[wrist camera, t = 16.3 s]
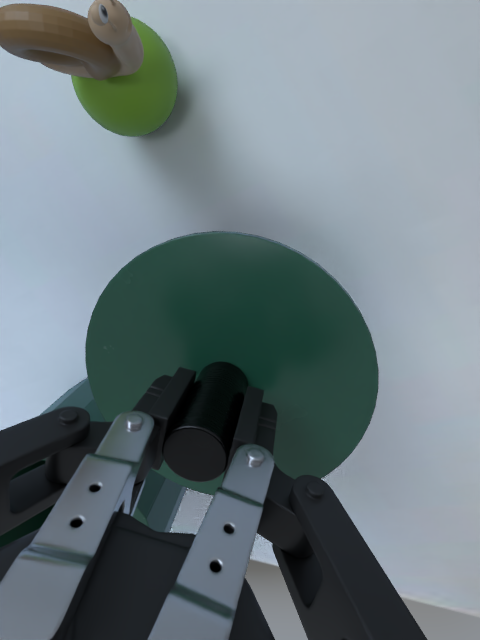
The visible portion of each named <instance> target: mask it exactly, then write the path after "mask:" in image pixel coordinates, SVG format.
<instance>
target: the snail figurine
mask: <svg viewBox="0 0 480 640" xmlns="http://www.w3.org/2000/svg"><path fill="white" fill-rule="evenodd" d="M0 46H1V47H2V48H3V49H5V50H6V51H7V52H9V53H11V54H13V55H15V56H18V57H20V58H23V59H27V60H31V61H35V62H40V63H41V64H43V65H44V66H46V67H48V68H51V69H53V70H56V71H59V72H62V73H65V74H69V75H71V77H72V82H73V86H74V89H75V92H76V94H77V97H78V99H79V101H80V102H81V104H82V106H83V107H84V109H85V110H86V111H87V113H88V114H89V115H90V116H91V117H92V118H93V119H94V120H95V121H96V122H97V123H98V124H100V125H101V126H102V127H104V128H105V129H107V130H109V131H111V132H113V133H116V134H119V135H123V136H132V137H134V136H142V135H146V134H149V133H151V132H153V131H155V130H156V129H158V128H159V127H160V126H161V125H162V124H163V123H164V122H165V121H166V120H167V119H168V117H169V116H170V114H171V112H172V110H173V108H174V105H175V101H176V97H177V87H178V84H177V73H176V69H175V65H174V62H173V59H172V56H171V54H170V52H169V50H168V48H167V47H166V45H165V43H164V42H163V41H162V39H161V38H160V37H159V36H158V35H157V33H156V32H155V31H153V30H152V29H151V28H150V27H149V26H147V25H146V24H145V23H143V22H141V21H139V20H137V19H135V18H133V17H130V15H129V13H128V11H127V10H126V8H125V7H124V6H123V5H122V4H121V3H120V2H119V1H117V0H95V1H94V2H93V3H92V5H91V6H90V8H89V11H88V18H85V17H83V16H81V15H78V14H76V13H73V12H71V11H68V10H65V9H61V8H57V7H53V6H47V5H36V4H10V5H6V6H3V7H1V8H0Z"/></svg>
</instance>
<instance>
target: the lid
mask: <svg viewBox="0 0 480 640" xmlns="http://www.w3.org/2000/svg"><path fill="white" fill-rule="evenodd" d="M179 367H182V368H186V369H190V370H193V371H196V378H195V383H194V385H193V387H192V389H191V391H190V392H189V394H188V396H187V398H186V400H185V402H184V403H183V405H182V407H181V409H180V411H179V413H178V414H177V416H176V418H175V420H174V422H173V424H172V425H171V427H170V429H169V431H168V433H167V435H166V436H165V439H164V442H163V446H162V453H163V457H164V461H163V463H162V465H161V467H160V469H159V470H155V469H152V468H151V469H152V470H153V471H155V472H157V473H158V474H160V475H162V476H163V477H165V478H167V479H169V480H171V481H173V482H175V483H177V484H179V485H181V486H184V487H187V488H189V489H192V490H195V491H198V492H202V493H206V494H210V495H214V494H215V492H216V490H217V488H218V487H221V484H222V481H223V477H224V473H225V469H226V467H227V463H228V457H229V454H230V450H231V446H232V442H233V438H234V434H235V431H236V427H237V424H238V420H239V416H240V413H241V409H242V405H243V402H244V398H245V395H246V391H247V387H248V386H251V387H255V388H258V389H262V390H264V394H263V400H262V402H265V403H268V404H272V405H274V407H275V409H276V411H277V413H278V414H277V422H276V432H275V441H274V449H273V457H274V462H275V464H276V465H277V467H278V468H279V469H280V470H281V471H282V472H283V473H285V474H286V475H288V476H290V477H291V478H293V479H296V478H297V477H299V476H301V475H312V476H315V477H318V478H320V479H321V478H323V477H324V476H326V475H328V474H329V473H330V472H331V471H333V470H334V469H335V468H337V467H338V466H339V465H340V464H341V463H342V462H343V461H344V460H345V459H346V458H347V457H348V456H349V455H350V454H351V453H352V452H353V450H354V449H355V447H356V446H357V445H358V443H359V442H360V441H361V439H362V437H363V435H364V433H365V431H366V429H367V428H368V426H369V424H370V421H371V418H372V415H373V412H374V409H375V405H376V399H377V393H378V364H377V357H376V351H375V347H374V344H373V341H372V338H371V334H370V332H369V329H368V327H367V325H366V323H365V321H364V319H363V317H362V314H361V312H360V310H359V309H358V307H357V306H356V304H355V303H354V301H353V300H352V298H351V297H350V295H349V294H348V293H347V291H346V290H345V289H344V288H343V287H342V286H341V285H340V284H339V282H338V281H337V280H336V279H335V278H334V277H333V276H332V275H331V274H329V273H328V272H327V271H326V270H325V269H324V268H322V267H321V266H320V265H319V264H318V263H316V262H315V261H313V260H311V259H310V258H308V257H307V256H305V255H304V254H302V253H301V252H299V251H297V250H295V249H293V248H290V247H288V246H286V245H284V244H282V243H280V242H277V241H274V240H271V239H267V238H264V237H261V236H257V235H252V234H246V233H240V232H226V231H212V232H201V233H193V234H189V235H185V236H181V237H177V238H174V239H171V240H169V241H166V242H164V243H161V244H159V245H156V246H154V247H152V248H150V249H149V250H147V251H145V252H143V253H142V254H140V255H138V256H137V257H135V258H134V259H133V260H132V261H130V262H129V263H128V264H127V265H125V266H124V267H123V268H122V269H121V270H120V271H119V272H118V273H117V274H116V275H115V276H114V277H113V279H112V280H111V281H110V282H109V283H108V285H107V286H106V288H105V289H104V291H103V293H102V294H101V296H100V297H99V299H98V302H97V304H96V306H95V308H94V310H93V313H92V316H91V320H90V323H89V326H88V331H87V338H86V368H87V375H88V380H89V384H90V387H91V391H92V394H93V397H94V399H95V402H96V404H97V406H98V409H99V411H100V412H101V414H102V416H103V418H104V420H105V421H106V422H112V421H114V419H115V418H116V417H117V416H118V415H119V414H121V413H123V412H126V411H132V409H133V408H134V407H135V405H136V404H137V403H138V401H139V400H140V399H141V397H142V396H143V395H144V394H145V393H146V391H147V390H148V388H149V387H150V386H151V384H152V383H153V382H154V380H155V379H157V378H159V377H161V376H163V375H168V376H171V377H173V375H174V374H175V373H176V371H177V370H178V368H179Z"/></svg>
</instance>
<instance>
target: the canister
mask: <svg viewBox="0 0 480 640" xmlns="http://www.w3.org/2000/svg"><path fill="white" fill-rule="evenodd" d="M68 406H74V407H80V408H83V409H85V410H86V411H87V412H88V413H89V414H90V421H98V422H106V421H105V420H104V418H103V416H102V414H101V412H100V411H99V409H98V406H97V404H96V402H95V399H94V397H93V394H92V391H91V387H90V384H89V380H88V378H87V379H85V380H83V381H81V382H80V383H78V384H77V385H76V386H74V387H73V388H71V389H69V390H68V391H67V392H66V393H65V394H63V395H62V396H61V397H60V398H59V399H58V400H57V401H55V402H54V403H53V404H52V405H51V406H50V407H48V408H47V409H46V410H45V411H44V412H43V413H42V414H40V415H43V414H45V413H48V412H50V411H53V410H56V409H58V408H62V407H68ZM40 415H39V416H40ZM45 463H46V458H45V459H43V460H41V461H39V462H37V463H35V464H33V465H31V466H28V467H26V468H24V469H22V470H20V471H19V472H18V473H16V474H15V475H14V476H13V478H12V479H11V480H13V479H15V478H17V477H19V476H21V475H23V474H25V473H27V472H29V471H31V470H33V469H35V468H37V467H39V466H41V465H43V464H45ZM186 488H187V487H184V486H181V485H179V484H177V483H175V482H173V481H171V480H169V479H167V478H165V477H163V476H162V475H160V474H158V473H157V472H155V471H153V470H152V469H150V471H149V473H148V475H147V476H146V479H145V484H144V487H143V490H142V492H141V495H140V498H139V501H138V503H137V506H136V509H135V511H134V514H133V518H135V519H137V520H138V521H140V522H141V523H143V524H145V525H146V526H148V527H149V528H151V529H153V530H154V531H157V532H169V531H170V529H171V526H172V523H173V521H174V518H175V516H176V513H177V511H178V508H179V506H180V503H181V501H182V498H183V495H184V493H185V490H186ZM55 504H56V503H55ZM55 504H54V505H55ZM54 505H52V506H50V507H49V508H47V509H45V510H43V511H42V512H40V513H38V514H37V515H35V516H33V517H32V518H30V519H28V520H27V521H25V522H23V523H22V524H20V525H18V526H16V527H15V528H13V529H11V530H10V531H8V532H6V533H5V534H3V535H1V536H0V548H1V547H3V546H5V545H7V544H9V543H11V542H13V541H15V540H17V539H19V538H21V537H23V536H25V535H27V534H29V533H31V532H33V531H35V530H37V529H39V528H41V526H42V525H43V523H44V522H45V520H46V518H47V517H48V515H49V513H50V512H51V510H52V509H53V507H54Z"/></svg>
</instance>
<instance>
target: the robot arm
mask: <svg viewBox="0 0 480 640" xmlns="http://www.w3.org/2000/svg"><path fill="white" fill-rule="evenodd" d="M195 378H196V371H193V370H190V369H186V368H182V367H179V368H178V370H177V371H176V373H175V374H174V375H173V377H171V376H168V375H163V376H161V377H159V378H157V379H155V380H154V382H153V383H152V384H151V386H150V387H149V388H148V390H147V391H146V393H145V394H144V395H143V396H142V397H141V399H140V400H139V401H138V403H137V404H136V405H135V407H134V408H133V409H132V411H126V412H123V413H121V414H119V415H118V416H117V417H116V418H115V419H114V421H112V422H98V421H90V414H89V413H88V412H87V411H86V410H85V409H83V408H80V407H74V406H68V407H62V408H58V409H56V410H53V411H50V412H48V413H45V414H43V415H40V416H38V417H35V418H32V419H30V420H27V421H25V422H22V423H19V424H17V425H14V426H12V427H9V428H6V429H4V430H1V431H0V536H1V535H3V534H5V533H6V532H8V531H10V530H11V529H13V528H15V527H16V526H18V525H20V524H22V523H23V522H25V521H27V520H28V519H30V518H32V517H33V516H35V515H37V514H38V513H40V512H42V511H43V510H45V509H47V508H49V507H50V506H52V505H54V504H55V503H56V504H55V505H54V507H53V509H52V510H51V512H50V513H49V515H48V517H47V518H46V520H45V522H44V523H43V525H42V526H41V528H39V529H37V530H35V531H33V532H31V533H29V534H27V535H25V536H23V537H21V538H19V539H17V540H15V541H13V542H11V543H9V544H7V545H5V546H3V547H1V548H0V640H275V639H274V637H273V634H272V632H271V630H270V628H269V626H268V624H267V621H266V619H265V617H264V615H263V613H262V611H261V608H260V606H259V604H258V602H257V600H256V598H255V595H254V593H253V591H252V589H251V587H250V585H249V584H248V582H247V580H246V579H245V574H246V570H247V566H248V563H249V559H250V555H251V552H252V548H253V544H254V541H255V537H256V533H258V534H259V535H261V536H262V537H264V538H266V539H267V540H269V541H270V542H272V543H273V544H272V547H273V552H274V554H275V557H276V559H277V562H278V564H279V567H280V569H281V572H282V575H283V577H284V580H285V582H286V585H287V587H288V590H289V592H290V595H291V597H292V600H293V602H294V605H295V607H296V610H297V612H298V615H299V617H300V620H301V622H302V625H303V627H304V630H305V632H306V635H307V638H308V640H427V638H426V637H425V635H424V634H423V632H422V631H421V629H420V627H419V626H418V624H417V623H416V621H415V619H414V618H413V616H412V615H411V613H410V612H409V610H408V608H407V607H406V605H405V604H404V602H403V601H402V599H401V597H400V596H399V594H398V593H397V591H396V590H395V588H394V586H393V585H392V583H391V582H390V580H389V578H388V577H387V575H386V574H385V572H384V571H383V569H382V567H381V566H380V564H379V563H378V561H377V560H376V558H375V556H374V555H373V553H372V552H371V550H370V549H369V547H368V545H367V544H366V542H365V541H364V539H363V537H362V536H361V534H360V533H359V531H358V530H357V528H356V526H355V525H354V523H353V522H352V520H351V519H350V517H349V515H348V514H347V512H346V511H345V509H344V508H343V506H342V504H341V503H340V501H339V500H338V498H337V496H336V495H335V493H334V492H333V490H332V489H331V487H330V486H329V485H328V484H327V483H326V482H325V481H323V480H322V479H320V478H318V477H315V476H312V475H301V476H299V477H297V478H296V479H293V478H291V477H290V476H288V475H286V474H285V473H283V472H282V471H281V470H280V469H279V468H278V467H277V465H276V464H275V462H274V457H273V449H274V441H275V432H276V422H277V414H278V413H277V411H276V409H275V407H274V405H272V404H268V403H265V402H262V400H263V394H264V390H262V389H258V388H255V387H251V386H248V387H247V391H246V395H245V398H244V402H243V405H242V409H241V413H240V416H239V420H238V424H237V427H236V431H235V434H234V438H233V442H232V446H231V450H230V454H229V457H228V463H227V467H226V469H225V473H224V477H223V481H222V484H221V487H218V488H217V490H216V492H215V494H214V497H213V499H212V501H211V503H210V506H209V508H208V510H207V512H206V515H205V517H204V519H203V521H202V524H201V526H200V528H199V530H198V533H197V535H194V534H187V533H169V532H157V531H154V530H153V529H151V528H149V527H148V526H146V525H145V524H143V523H141V522H140V521H138V520H137V519H135V518H133V514H134V511H135V509H136V506H137V503H138V501H139V498H140V495H141V492H142V490H143V487H144V484H145V479H146V476H147V475H148V473H149V471H150V469H151V468H152V469H155V470H159V469H160V467H161V465H162V463H163V461H164V457H163V453H162V446H163V442H164V439H165V436H166V435H167V433H168V431H169V429H170V427H171V425H172V424H173V422H174V420H175V418H176V416H177V414H178V413H179V411H180V409H181V407H182V405H183V403H184V402H185V400H186V398H187V396H188V394H189V392H190V391H191V389H192V387H193V385H194V383H195ZM45 458H46V463H45V464H43V465H41V466H39V467H37V468H35V469H33V470H31V471H29V472H27V473H25V474H23V475H21V476H19V477H17V478H15V479H13V480H11V479H12V478H13V476H14V475H15V474H16V473H18V472H19V471H20V470H22V469H24V468H26V467H28V466H31V465H33V464H35V463H37V462H39V461H41V460H43V459H45Z"/></svg>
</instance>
